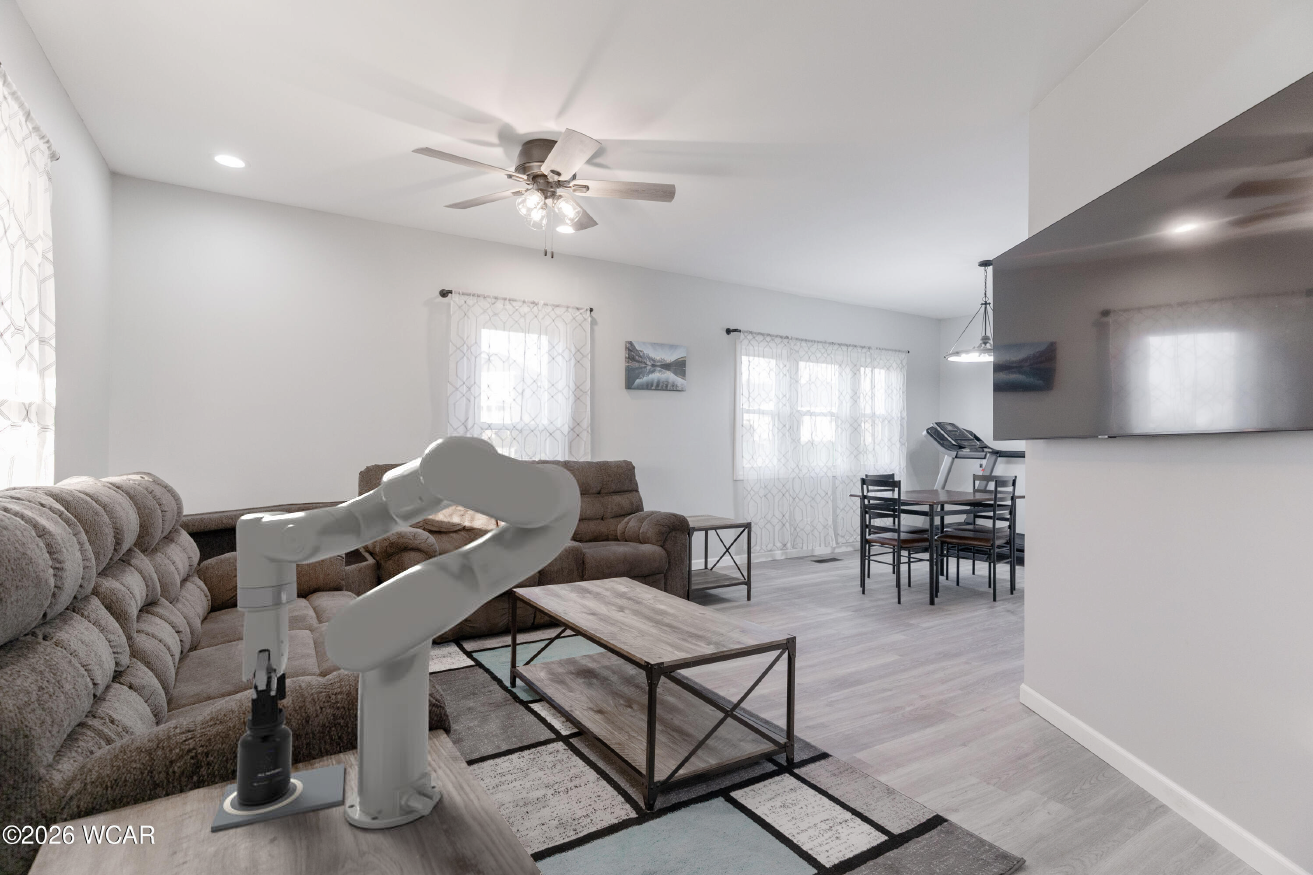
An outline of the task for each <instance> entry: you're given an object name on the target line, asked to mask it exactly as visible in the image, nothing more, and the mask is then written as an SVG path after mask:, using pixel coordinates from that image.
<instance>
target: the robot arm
mask: <svg viewBox="0 0 1313 875" xmlns="http://www.w3.org/2000/svg"><path fill="white" fill-rule="evenodd" d="M578 484H579V483H578V482H577V480H576V478H575V477H574V476H573V474H572V473H571V472H570V471H569V470H568V469H566V468H564V467H562V466H561V465H557V464H553V463H539V464H537V463H536V464H532V463H530V462H526V461H523V460H520V459H518V458H515V457H511V456H509V455H507V454H506V455H505V454H503V453H500V452H499V451H498V450H497V448H496V446H494V445H493V444H492V443H491V442H489V441H488V440H487V439H484V438H480V437H476V436H463V435H451V436H444V437H442V438H439V439H438V440H435V441H433V442H432V443H431V444H430V445H429V446H428V447H427V449H425V450H424V452H423V454H422V455H421V456H420V457H418V458H417V459H414V460H412V461H409V462H407V463H404V464H402V465H400V466H397V467H395V468H393V469H390V470H388V471H387V472H386V473H384V475H383V476H382V478H381V481H380V485H379V486H377V488H374V489H373V490H371V491H369V492H367V493H365V494H363V495H360V496H358V497H355V498H354V499H351V500H349V501H347V502H344V503H342V504H338V505H335V506H330V507H328V506H327V507H322V508H321V507H320V508H315V509H309V510H303V511H298V512H292V513H290V512H286V511H268V512H267V511H266V512H253V513H248V514H244V515H242V516H240V517H239V518H238V520H237V522H236V527H235V530H236V531H235V533H236V534H235V537H236V539H235V541H236V582H237V583H236V586H237V587H236V588H237V592H236V593H237V596H236V597H237V611H238V612H243V613H244V612H245V613H244V621H243V636H242V637H243V638H242V639H243V640H242V681H243V682H245V683H249V681H250V680H252V679H253V682H252V692H251V693H252V694H251V699H250V700H251V707H250V708H251V713H252V726H253V727H257V726H262V725H268V724H274V723H277V722H278V720H279V708H280V707H279V702H280V701H281V702H282V701H284V700H286V698H287V680H286V679H287V678H286V677H287V673H286V672H285V668H286V665H287V661H288V656H289V638H290V636H289V635H290V634H289V607H290V606H293V605H295V604H297V600H298V598H297V597H298V595H297V592H298V591H297V564H298V565H300V564H301V565H302V564H303V565H304V564H310V563H315V562H318V561H321V560H325V559H327V558H331V557H334V556H338V555H339V556H340V555H342V554H343V555H344V554H345V553H349V552H351V551H354V550H356V549H359V548H360V547H363V546H365V545H367V544H370V543H373V542H375V541H377V540H379V539H382V538H384V537H386V536H388V535H390V534H393V533H395V532H397V531H399V530H400V529H404V528H408V527H410V526H411V525H414V524H416V523H418V522H420V521H422V520H425V519H427V518H430V517H431V516H433V515H435V514H438V513H440V512H442V511H445V510H447V509H450V508H452V507H455V506H458V507H462V508H464V509H465V510H469V511H471V512H474V513H476V514H477V513H478V514H480V515H483V516H485V517H488V518H491V519H493V520H496V521H499V522H502V523H503V524H502V525H500V526H498V527H496V528H494V529H492V530H491V531H489V532H488V533H486V534H485V535H483V536H481V537H479V538H477V539H476V540H474V541H472V542H470V543H468V544H466V545H464V546H462V547H460V548H458V549H456V550H453V551H450V552H447V553H444V554H440V555H437V556H435V557H432V558H431V559H427V560H425V561H423V562H420V563H418V564H416V565H414V566H412V567H410V568H408V569H407V570H405V571H402V572H401V573H399V574H398V575H395V576H394V577H392V578H390V579H389V580H387V581H384V582H383V583H381V584H380V585H378V586H376V587H374V588H373V589H371V590H369V591H367V592H365V593H363V594H362V595H359V596H358V597H356V598H354V599H353V600H350V601H348V602H347V603H346V604H344V605H343V606H341V607H340V608H339V609H338V610H336V612H334V614H333V615H332V617H330V620H329V621H328V623H327V626H326V629H325V630H324V631H325V632H324V638H323V640H324V641H323V645H324V646H323V647H324V650H325V653H326V656H327V657H328V659H329V660H330V661H331V663H332V664H333V665H334V666H336V667H337V668H339V669H341V670H343V671H345V672H349V673H355V674H359V679H358V689H357V690H358V691H357V692H358V695H357V697H358V700H357V701H358V702H357V703H358V704H357V791H355V792H354V793H353V794H352V795H351V796H350V797H349V798H348V799H347V800H346V803H345V807H344V814H345V815H344V816H345V818H346V820H347V822H348V823H350V824H351V825H353V826H356V827H359V828H362V829H363V828H364V829H373V830H375V829H386V828H387V829H388V828H392V827H397V826H400V825H405V824H407V823H410V822H413V821H415V820H417V819H419V818H421V817H422V816H427V815H428V814H430V812H432V810H433V808H434V807H435V806H436V804H437V803H438V801H439V800H440V799H441V796H442V795H441V792H440V788H439V785H438V783H437V782H436V781H435V780H433V779H432V773H430V772H429V693H430V689H429V688H430V661H431V660H430V659H431V650H432V645H433V644H432V643H433V639H435V638H436V637H438V636H440V635H442V634H443V633H446V632H447V631H449V630H450V629H452V628H453V627H455V626H456V625H458V624H460V622H462V621H464V620H465V619H466V618H468V617H469V616H471V615H472V614H473V613H474V612H476V611H477V610H478V609H479V608H480V607H481V606H482V605H484V604H485V603H487V602H489V601H490V600H492V599H493V598H495V597H497V596H499V595H501V594H503V593H504V592H506V591H507V590H509V589H511V588H512V587H514V586H516V585H517V584H519V583H521V582H522V581H524V580H526V579H527V578H529V577H531V576H533V575H534V574H535V573H537V572H539V571H540V570H542V569H543V568H544V567H546V566H547V565H549V564H550V563H551V562H552V561H553V560H554V559H555V558H557V557H558V555H559V554H560V553H561V552H562V551H563V550H565V548H566V546H567V545H568V543H569V542H570V540H571V538H572V536H573V534H574V533H575V530H576V528H577V525H578V523H579V520H580V515H581V514H580V513H581V503H582V501H581V491H580V487H579V485H578Z"/></svg>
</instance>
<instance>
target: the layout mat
mask: <svg viewBox="0 0 1313 875" xmlns="http://www.w3.org/2000/svg"><path fill="white" fill-rule="evenodd" d="M344 777H345V763H339V764H335V765H330V766H324V767H319V768H313V769H312V768H311V769H307V770H303V771H298V772H291V783H290V789H289V791H288V793H287V794H286V795H285V796H283V797H282V798H280V799H279V800H277V801H274V802H272V803H269V804H266V805H261V806H253V807H249V806H243V805H241V804H239V803H238V801H237V783H233V784H227V786H226V789H225V791H224V793H223V796H222V798H221V801H220V803H219V806H218V808H217V811H216V813H215V816H214V818H213V821H212V823H211V826H210V832H215V831H220V830H223V829H224V830H225V829H229V828H233V827H237V826H238V827H239V826H243V825H248V824H252V823H258V822H261V821H262V822H263V821H266V820H271V819H278V818H281V817H286V816H291V815H295V814H300V813H304V812H310V811H315V810H319V809H325V808H330V807H333V806H340V805H343V799H344V783H345V782H344V780H345V778H344Z"/></svg>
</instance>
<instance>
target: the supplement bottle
mask: <svg viewBox="0 0 1313 875" xmlns="http://www.w3.org/2000/svg"><path fill="white" fill-rule="evenodd" d="M285 710H286V709H285V708H282V707H279V720H278V722H277V723H274V724H268V725H262V726H257V727H253V726H252V712H251V713H249V714H248V715H247V717H246V726H245V729H246V731H247V732H245V733H244V734H243V735H242V736H241V737H240V739H239V740H238V745H237V763H236V764H237V767H236V768H237V770H236V772H237V773H236V784H237V801H238V803H239V804H241V805H243V806H249V807H253V806H261V805H266V804H269V803H272V802H274V801H277V800H279V799H280V798H282V797H283V796H285V795H286V794H287V793H288V791H289V789H290V783H291V773H292V752H293V751H292V750H293V749H292V748H293V747H292V745H293V743H292V742H293V733H292V730H291V729H290V728H289V727H288V726H286V725H285V723H286V716H285V715H286V711H285Z"/></svg>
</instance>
